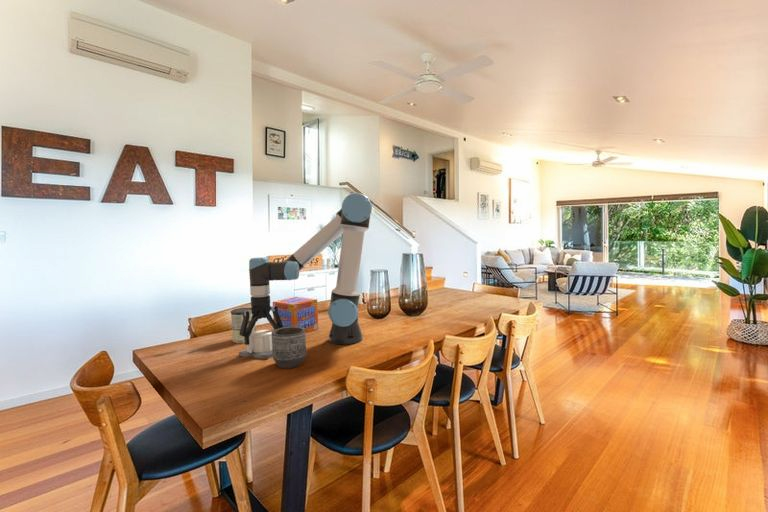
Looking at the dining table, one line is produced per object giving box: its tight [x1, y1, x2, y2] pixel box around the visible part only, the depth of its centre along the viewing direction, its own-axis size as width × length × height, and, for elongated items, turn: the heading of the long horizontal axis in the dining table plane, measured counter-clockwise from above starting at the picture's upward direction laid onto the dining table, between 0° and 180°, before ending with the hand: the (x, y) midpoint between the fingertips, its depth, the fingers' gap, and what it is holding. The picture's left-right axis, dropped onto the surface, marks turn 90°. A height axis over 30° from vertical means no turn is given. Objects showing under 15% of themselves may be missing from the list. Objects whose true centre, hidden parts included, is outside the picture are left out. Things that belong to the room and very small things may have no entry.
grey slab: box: [238, 348, 273, 360], centre depth 152 cm, size 14×12×6 cm
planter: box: [272, 327, 307, 369], centre depth 138 cm, size 12×12×13 cm
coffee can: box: [230, 307, 256, 344], centre depth 171 cm, size 10×10×14 cm
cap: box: [251, 329, 273, 353], centre depth 152 cm, size 8×8×7 cm
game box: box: [272, 296, 319, 334], centre depth 185 cm, size 16×16×16 cm
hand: (262, 348), depth 152 cm, fingers open, 11 cm apart
